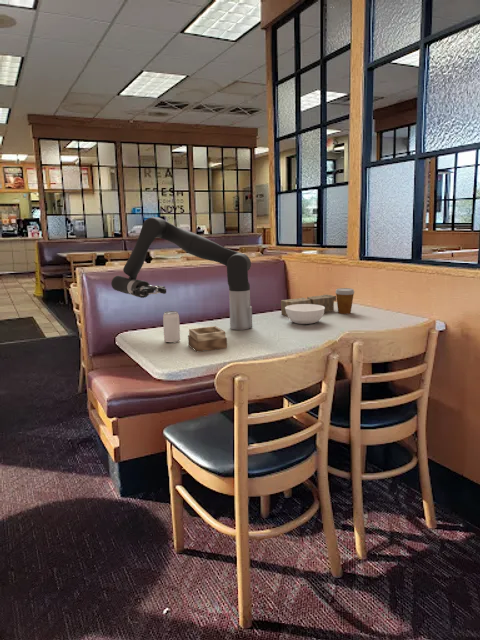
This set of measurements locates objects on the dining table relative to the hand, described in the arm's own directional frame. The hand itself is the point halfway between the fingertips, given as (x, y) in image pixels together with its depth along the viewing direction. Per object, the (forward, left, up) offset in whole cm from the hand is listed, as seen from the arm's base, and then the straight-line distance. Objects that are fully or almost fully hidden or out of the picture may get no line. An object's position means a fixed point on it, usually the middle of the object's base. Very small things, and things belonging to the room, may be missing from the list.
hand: (156, 292), depth 204 cm
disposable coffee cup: (-97, -4, -19) cm, 99 cm away
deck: (-13, +26, -19) cm, 35 cm away
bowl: (-68, +6, -19) cm, 71 cm away
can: (-3, +11, -19) cm, 22 cm away
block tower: (-82, -14, -19) cm, 85 cm away
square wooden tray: (-13, +26, -15) cm, 33 cm away
